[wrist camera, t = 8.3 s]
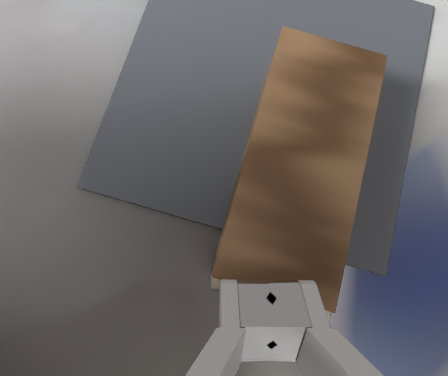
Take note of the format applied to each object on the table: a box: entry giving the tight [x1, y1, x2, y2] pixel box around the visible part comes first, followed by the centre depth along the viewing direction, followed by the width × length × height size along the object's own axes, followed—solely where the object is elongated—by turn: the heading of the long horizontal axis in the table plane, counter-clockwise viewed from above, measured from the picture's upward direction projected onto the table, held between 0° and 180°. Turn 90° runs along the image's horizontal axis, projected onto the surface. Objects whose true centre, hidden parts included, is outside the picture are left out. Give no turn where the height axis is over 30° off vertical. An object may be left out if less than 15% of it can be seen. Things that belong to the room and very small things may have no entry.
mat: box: [78, 0, 434, 276], centre depth 19 cm, size 18×18×1 cm
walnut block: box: [211, 26, 388, 322], centre depth 16 cm, size 5×5×12 cm
